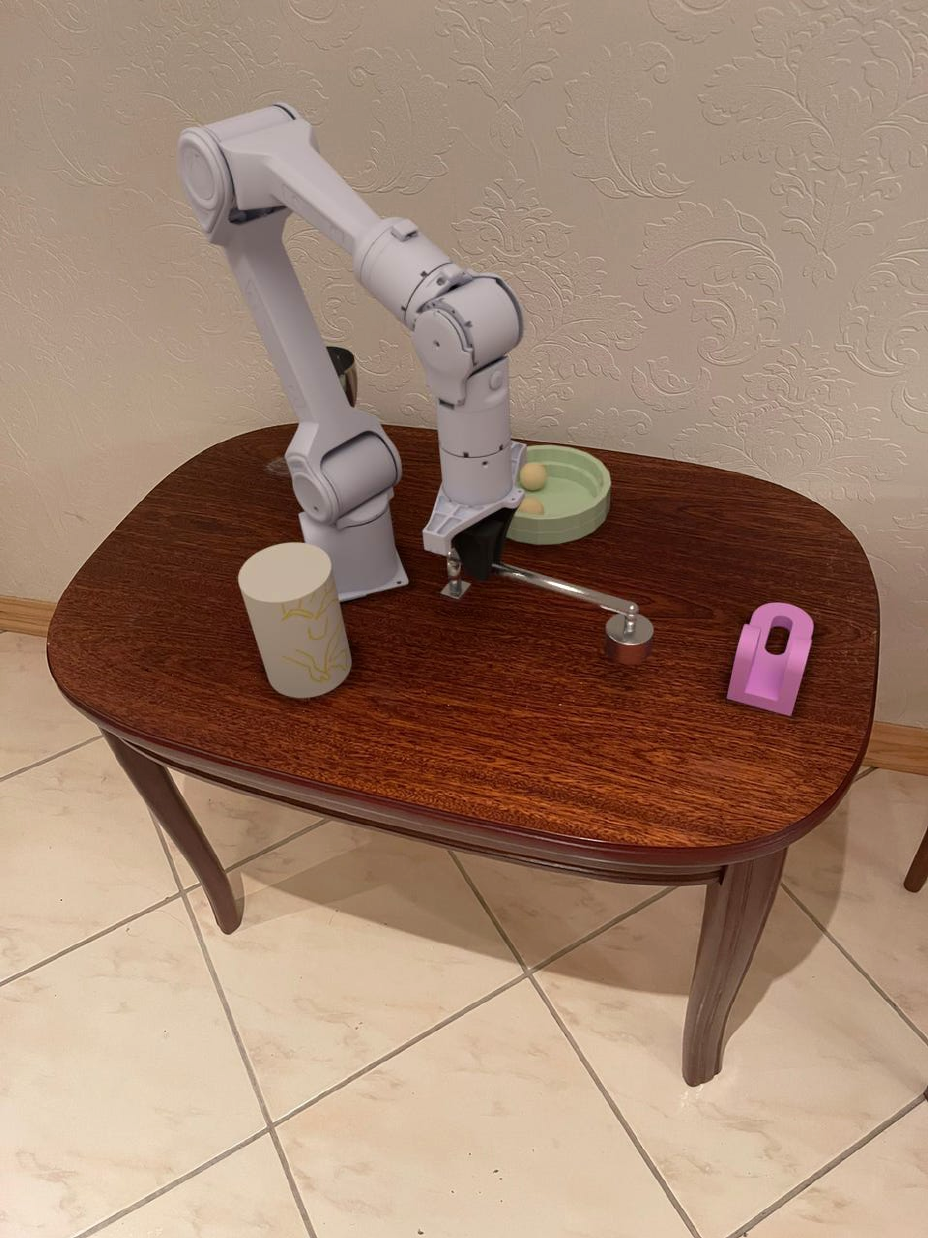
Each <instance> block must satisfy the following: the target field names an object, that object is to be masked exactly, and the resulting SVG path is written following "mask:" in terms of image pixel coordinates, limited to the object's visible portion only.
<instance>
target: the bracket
mask: <svg viewBox="0 0 928 1238" xmlns="http://www.w3.org/2000/svg"><path fill="white" fill-rule="evenodd" d="M775 627H781V628H784V629H786V630H787V631H788V632H789V637H788V640H787V643H786V647H785V650H784V652H783V653H781V654H772V653H770V652H768V650H766V646H767V642H768V639H769V635H770V632H771V630H772V629H773V628H775ZM813 632H814V621H813V619H812V617H811V616H810V615H809V614H808V613H807V612H806V611H805V610H804V609H802V608H800V607H798V606H796V605H793V604H790V603H786V602H768V603H765V604H763V605H761V606H759V607H757V608H756V609H755V610H754V611H753V613H752V616H751V619H750V622H749V624H747V623H744V625H743V627H742V630H741V634H740V636H739V641H738V644H737V648H736V651H735V652H736V653H735V656H734V661H733V666H732V671H731V676H730V680H729V685H728V690H727V695H726V700H729V701H733V702H737V703H741V704H744V705H748V706H751V707H755V708H759V709H762V710H767V711H770V712H774V713H777V714H780V715H784V716H787V717H792V713H793V710H794V707H795V703H796V699H797V696H798V692H799V689H800V685H801V682H802V680H803V675H804V672H805V668H806V665H807V661H808V657H809V653H810V650H811V646H812V641H813V640H812V635H813Z"/></svg>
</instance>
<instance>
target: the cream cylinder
mask: <svg viewBox="0 0 928 1238" xmlns="http://www.w3.org/2000/svg"><path fill="white" fill-rule="evenodd" d="M237 581H238V587H239V589H240V592H241V597H242V598H243V599H242V600H243V601H244V605H245V609H246V611H247V615H248V618H249V622H250V625H251V628H252V631H253V634H254V637H255V640H256V644H257V647H258V650H259V654H260V657H261V660H262V664H263V666H264V669H265V670H264V671H265V673H266V676H267V681H268V682H269V684H270V686H271V687H272V688H273V689H274V690H275V691H276V692H278V694H281V695H283V696H286V697H288V698H289V697H290V698H296V699H307V698H308V699H309V698H314V697H319V696H322V695H324V694H328V693H329V692H331V691H333V690H334V689H336V688H337V687H339V686H340V685H341V684H342V683H343V682H344V681H345V680H346V679H347V677H348V675H349V674H350V672H351V668H352V663H353V662H352V661H353V660H352V655H351V650H350V646H349V640H348V637H347V631H346V626H345V622H344V618H343V614H342V608H341V602H339V598H338V593H337V589H336V584H335V579H334V575H333V570H332V565H331V561H330V558H329V556H328V555H327V554H326V553H325V552H324V551H323V550H322V549H320V548H318V547H316V546H314V545H311V544H306V543H305V542H284V543H283V542H282V543H278V544H274V545H272V546H268V547H266V548H263V549H261V550H259V551H258V552H256V553H254V554H253V555H252V556H251V557H249V558H248V559H247V560H246V561H245V562H244V563H243V565H242V566H241V567H240V569H239V572H238V576H237Z"/></svg>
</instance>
